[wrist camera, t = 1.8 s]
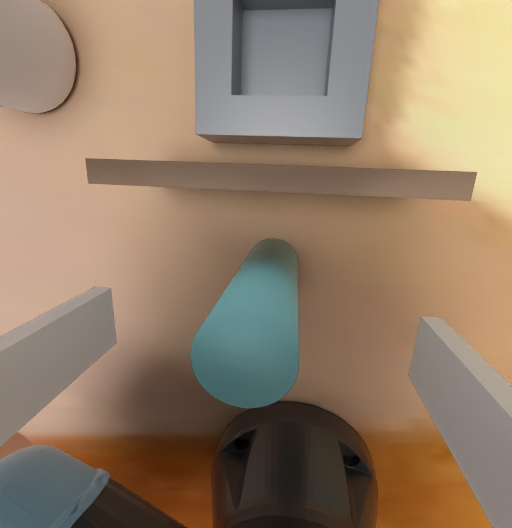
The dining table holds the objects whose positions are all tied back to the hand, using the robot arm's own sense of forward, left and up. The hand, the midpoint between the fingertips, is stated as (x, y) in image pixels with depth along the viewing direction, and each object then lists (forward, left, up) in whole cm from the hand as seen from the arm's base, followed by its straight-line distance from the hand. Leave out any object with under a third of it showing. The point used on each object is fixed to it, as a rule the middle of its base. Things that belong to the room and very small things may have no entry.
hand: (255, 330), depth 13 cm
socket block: (+14, 0, -12) cm, 18 cm away
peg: (0, 0, -12) cm, 12 cm away
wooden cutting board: (+6, 0, -12) cm, 14 cm away
